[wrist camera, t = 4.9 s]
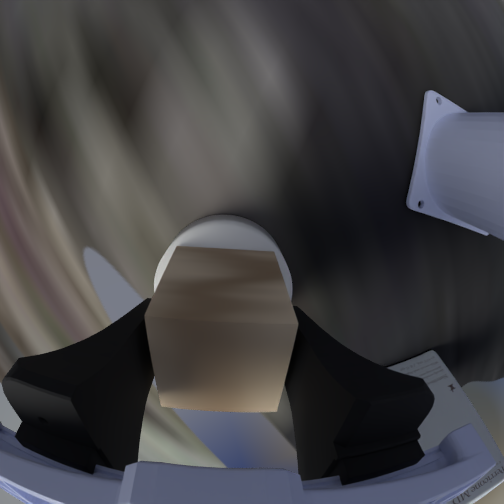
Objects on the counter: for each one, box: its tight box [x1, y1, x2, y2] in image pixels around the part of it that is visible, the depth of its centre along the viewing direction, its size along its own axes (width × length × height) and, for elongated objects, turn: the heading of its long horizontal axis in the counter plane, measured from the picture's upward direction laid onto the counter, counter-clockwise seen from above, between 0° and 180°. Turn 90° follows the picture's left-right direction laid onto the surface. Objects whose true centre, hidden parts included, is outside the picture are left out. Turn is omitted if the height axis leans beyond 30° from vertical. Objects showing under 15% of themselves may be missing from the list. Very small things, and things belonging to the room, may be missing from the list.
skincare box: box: [388, 350, 504, 504], centre depth 14 cm, size 8×6×15 cm
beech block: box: [144, 246, 298, 412], centre depth 11 cm, size 4×4×6 cm
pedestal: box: [154, 214, 293, 300], centre depth 15 cm, size 7×7×2 cm
